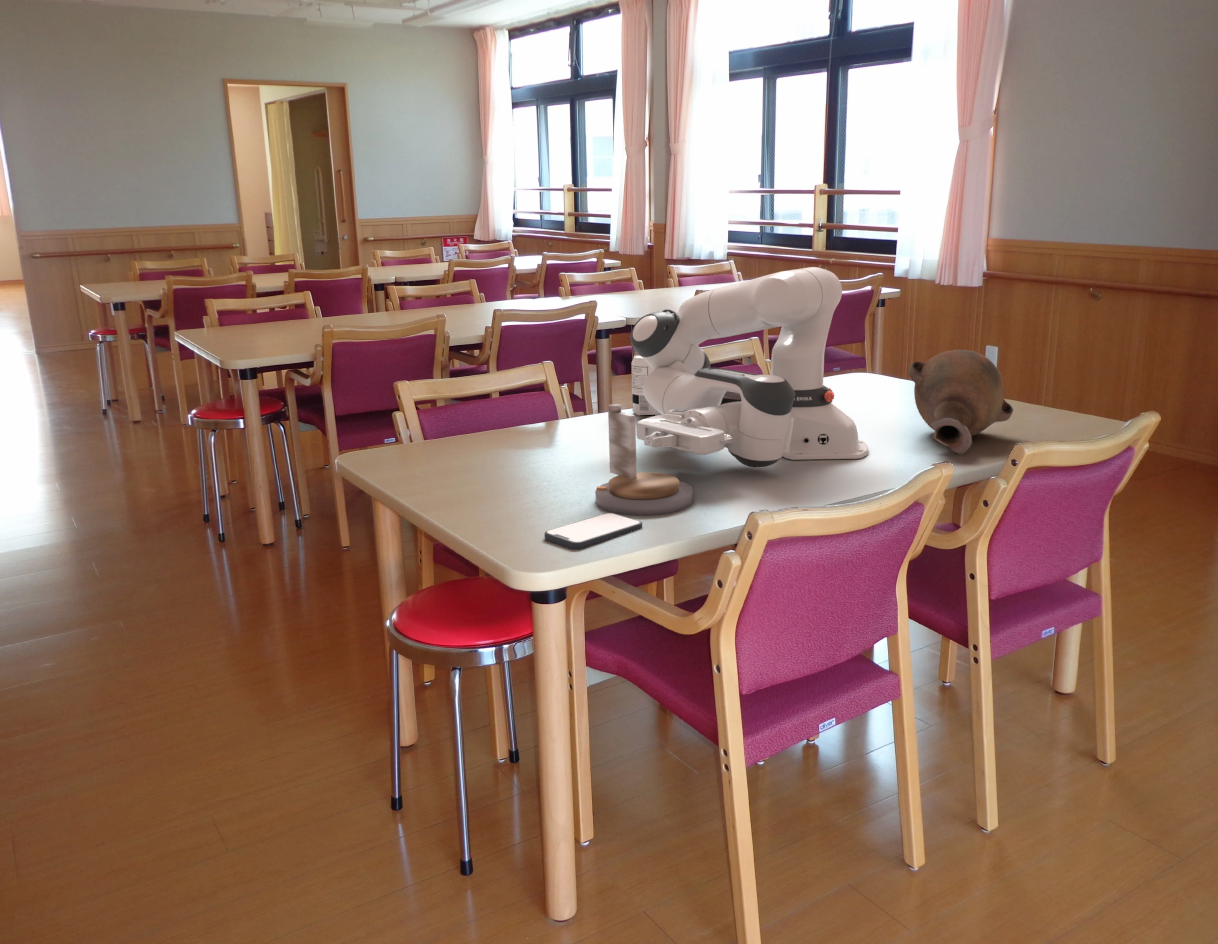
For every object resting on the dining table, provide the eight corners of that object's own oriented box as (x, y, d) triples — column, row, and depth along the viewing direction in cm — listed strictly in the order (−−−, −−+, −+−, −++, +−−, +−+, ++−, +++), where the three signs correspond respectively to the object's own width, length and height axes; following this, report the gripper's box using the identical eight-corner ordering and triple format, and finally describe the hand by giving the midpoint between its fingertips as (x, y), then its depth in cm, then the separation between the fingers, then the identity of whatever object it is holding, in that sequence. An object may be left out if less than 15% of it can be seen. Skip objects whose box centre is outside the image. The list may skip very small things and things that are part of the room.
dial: (693, 489, 182) (693, 411, 178) (639, 503, 174) (638, 422, 171) (638, 473, 194) (636, 399, 190) (585, 486, 186) (582, 409, 183)
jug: (929, 422, 239) (906, 473, 215) (914, 346, 233) (888, 389, 209) (1019, 412, 229) (1005, 464, 205) (1005, 331, 223) (989, 375, 199)
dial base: (699, 489, 190) (699, 476, 190) (684, 517, 173) (684, 504, 173) (608, 485, 194) (607, 473, 194) (584, 513, 177) (584, 500, 177)
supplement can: (630, 410, 263) (629, 354, 259) (661, 409, 264) (660, 353, 260) (634, 417, 255) (632, 359, 251) (665, 415, 256) (665, 358, 252)
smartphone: (609, 520, 175) (540, 541, 165) (609, 511, 175) (540, 531, 164) (645, 531, 169) (576, 553, 158) (645, 522, 169) (576, 543, 158)
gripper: (738, 455, 191) (685, 468, 183) (668, 437, 207) (616, 449, 199) (738, 423, 190) (685, 434, 181) (667, 408, 205) (615, 418, 197)
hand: (649, 442), depth 190 cm, fingers closed
